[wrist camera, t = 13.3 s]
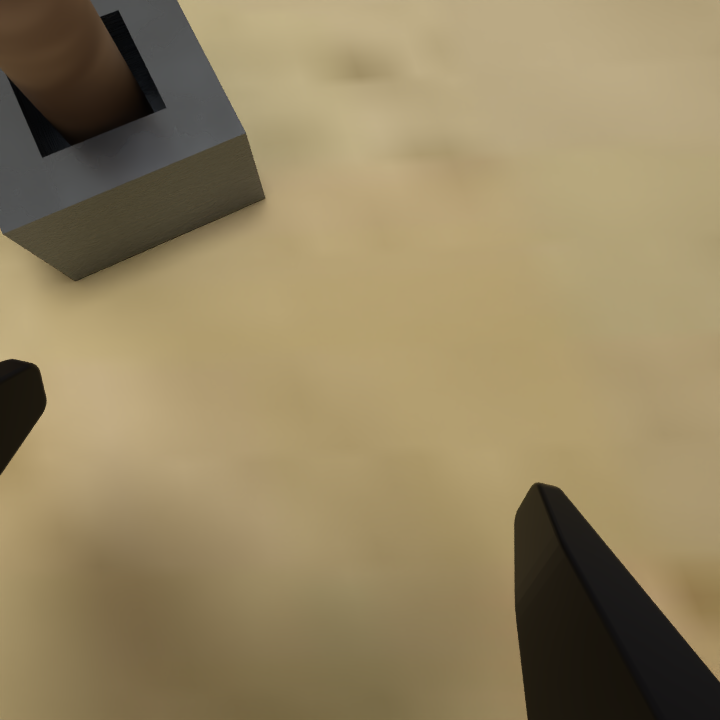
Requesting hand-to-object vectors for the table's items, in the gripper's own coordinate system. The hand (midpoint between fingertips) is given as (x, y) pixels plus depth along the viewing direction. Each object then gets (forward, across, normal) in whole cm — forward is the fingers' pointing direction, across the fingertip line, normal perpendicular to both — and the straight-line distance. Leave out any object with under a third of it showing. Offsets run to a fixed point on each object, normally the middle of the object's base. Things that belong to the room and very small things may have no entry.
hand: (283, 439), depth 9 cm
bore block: (+18, +13, +1) cm, 22 cm away
